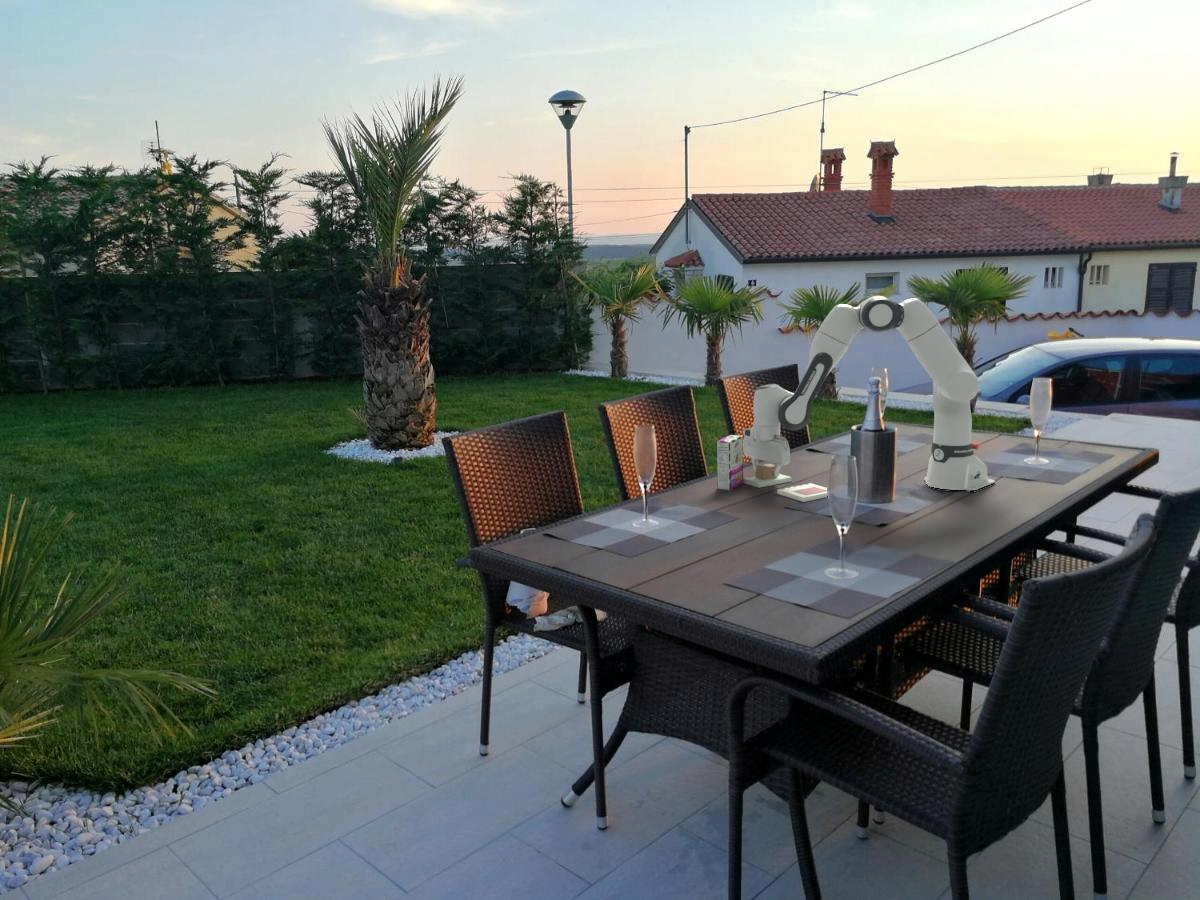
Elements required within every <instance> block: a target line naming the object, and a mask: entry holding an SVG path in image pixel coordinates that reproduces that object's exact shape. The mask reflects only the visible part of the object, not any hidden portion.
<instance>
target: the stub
mask: <svg viewBox="0 0 1200 900" xmlns="http://www.w3.org/2000/svg"><path fill="white" fill-rule="evenodd" d="M774 469H775V467H774V464H773V463H772V464H771V463H765V464H759V466H756V471H755V474H754V475H755V476H751V477H745V478H744V477H743V483H742V484H746V485H750V486H752V487H755V488H764V487H770V486H774V485H781V484H785V483H791V482H792V477H791V476H789V475H785V474H781V473H779V476H777V477H775V476H772V471H774Z"/></svg>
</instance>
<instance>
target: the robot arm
mask: <svg viewBox="0 0 1200 900" xmlns="http://www.w3.org/2000/svg"><path fill="white" fill-rule="evenodd" d="M893 329H896V330H897V331H898V332H899V333H900V334H901V336H902V337H903V339H904V341H905V342H906V344H907V345H908V346H909V348H910V350H911V351H912V353H913V354H914V355H915V357H916V359H917V361H918V362H919V363H920V365H921V366H922V367H923V369H924V370H925V372H926V373H927V374H928V376H929V377H930V378H931V380H932V398H933V415H934V418H933V419H934V422H933V436H932V437H933V441H932V442H931V444H930V448H931V450H930V453H931V456H930V457H929V460H928V464H927V465H928V467H927V471H926V472H927V474H926V476H924V479H923V480H925V485H926V484H927V485H928V486H927V485H926V486H927V487H929V486H930V487H929V488H931V487H934V488H933V489H935V488H940V489H949V490H977V489H979V488H981V487H984V486H986V485H989V484H991V483H994V482H995V483H996V481H995V479H993V478H990V477H988V467H987V465H986V463H984V462H983V461H982V460H981V459H980V458H978V457H977V456H976V455H975V451H974V450H977V451H978V450H979V449H980V443H975V442H973V443H972V442H971V441H972V428H973V427H972V425H973V417H972V412H971V400H973V399H974V398H975V397H976V396H977V394H978V392H979V390H980V381H979V379H978V376H977V375H976V373H975V372H974V370H973V369H972V368H971V366H970V365H969V363H968V362H967V360H966V359H965V358H964V356H963V355H962V353H961V352H959V350H958V349H957V348H956V346H955V345H954V343H953V342H952V341H951V339H950V337H949V336H948V334H947V332H945V330H944V328H943V326H942V325H941V323H940V322H939V320H938V319H937V318H936V316H935V314H933V312H932V311H931V309H930V308H929V307H927V305H926V304H925V303H924V302H923V301H922V300H921V299H919V298H914V297H912V298H907V299H905V300H903V301H901V302H900V303H898V302H896V301H894V300H892V299H890V298H887V297H885V296H883V295H872V296H869V297H867V298H865V299H864V300H863V299H862V301H860V302H858V303H857V304H856V305H854V306H852V305H850V304H847V303H840V304H836V305H835V306H834V307H833V308H832V309H830V311H829V312H828V314H827V315H826V317H825V318H824V320H823V321H822V322H821V324H820V326H819V327H818V330H817V331H816V333H815V335H814V338H813V340H812V342H811V346H810V349H809V356H808V364H807V368H806V370H805V373H804V375H803V377H802V378H801V381H800V382H799V384H798V386H797V388H796V390H795V391H794V392H791V391H788V390H787V389H785V388H783V387H781V386H780V385H778V384H776V383H770V384H769V383H768V384H764V385H761V386H759V387H758V388H757V389H756V390H755V391H754V394H753V405H752V406H753V416H754V418H753V422H752V424H753V425H752V427H749V428H748V427H747V428H745V429H743V431H742V434H743V435H742V436H744V437H743V455H744V456H746V457H750V458H751V463H752V466H753V471H755V472H756V466H759V465H760V464H759V461H764V462H767V463H770V464H771V463H772V464H773V465H774V467H775V469H774V471H772V476H775V477H777V476H779V474H780V471H781V468H782V467H783V466H786V465H787V466H788V465H789V464H790V463H791V450H790V445H789V441H788V440H787V438H786V437H785V436H781V426H782V427H783V428H785V429H786V430H789V431H800V430H802V429H804V428H805V427H807V425H808V424H809V422H810V420H811V418H812V417H811V416H812V405H813V402H814V400H815V399H816V397H817V395H818V393H819V391H820V389H821V387H822V386H823V384H824V382H825V380H826V378H827V376H828V375H829V374H830V372H831V371H832V370H833V369H834V368H835V367H836V365H837V364H838V363H839V362H840V360H841V359H842V358H843V356H845V354H846V352H847V351H848V349H849V347H850V345H851V343H852V341H853V340H854V338H855V336H856V335H857V334H858V333H859V332H861V331H862V330H868V331H871V332H875V333H881V332H882V333H883V332H887V331H890V330H893ZM940 489H939V490H940ZM949 490H948V491H949ZM977 491H978V490H977Z"/></svg>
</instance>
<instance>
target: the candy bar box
mask: <svg viewBox="0 0 1200 900" xmlns="http://www.w3.org/2000/svg"><path fill="white" fill-rule="evenodd" d="M743 436H744V435H736V434H730V435H727V436H725V437H723V438H721V439H719V440H717V441H716V469H717V470H716V471H717V473H716V474H717V475H716V476H717V479H716V480H717V483H716V484H717V490H725V491H732V490H734V489H735V488H737V487H739V486H740V485H742V484H744V483H743V478H744V458H743V457H744V452H743V439H744V437H743Z"/></svg>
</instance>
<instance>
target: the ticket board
mask: <svg viewBox="0 0 1200 900" xmlns="http://www.w3.org/2000/svg"><path fill="white" fill-rule="evenodd" d="M827 488H828V487H825V486H821V485H818V484H815V483H811V482H810V483H806V484H798V485H794V486H789V487H784V488H783V487H782V488H780V489H779V488H778V489H776V490H777V492H776V494H777V495H780V496H782V497H786V498H790V499H793V500H797V501H800V502H803V503H805V502H810V501H814V500H819V499H825V498H828V497H827Z"/></svg>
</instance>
